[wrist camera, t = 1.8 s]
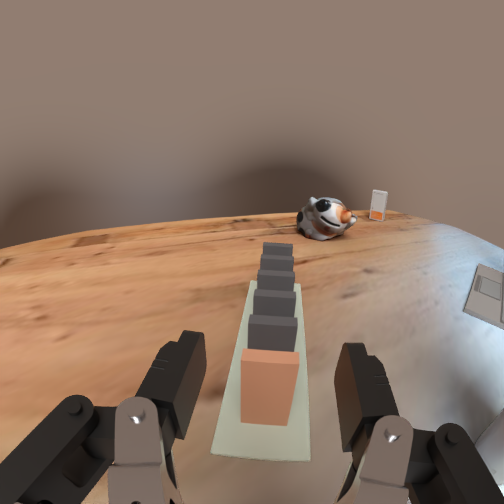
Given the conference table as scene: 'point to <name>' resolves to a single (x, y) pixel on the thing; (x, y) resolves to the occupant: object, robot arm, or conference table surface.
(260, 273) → the domino
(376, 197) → the skincare box
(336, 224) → the lucky cat figurine
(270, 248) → the domino
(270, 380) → the domino
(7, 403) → the conference table surface
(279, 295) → the domino
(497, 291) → the laptop
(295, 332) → the domino
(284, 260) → the domino
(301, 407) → the strip
